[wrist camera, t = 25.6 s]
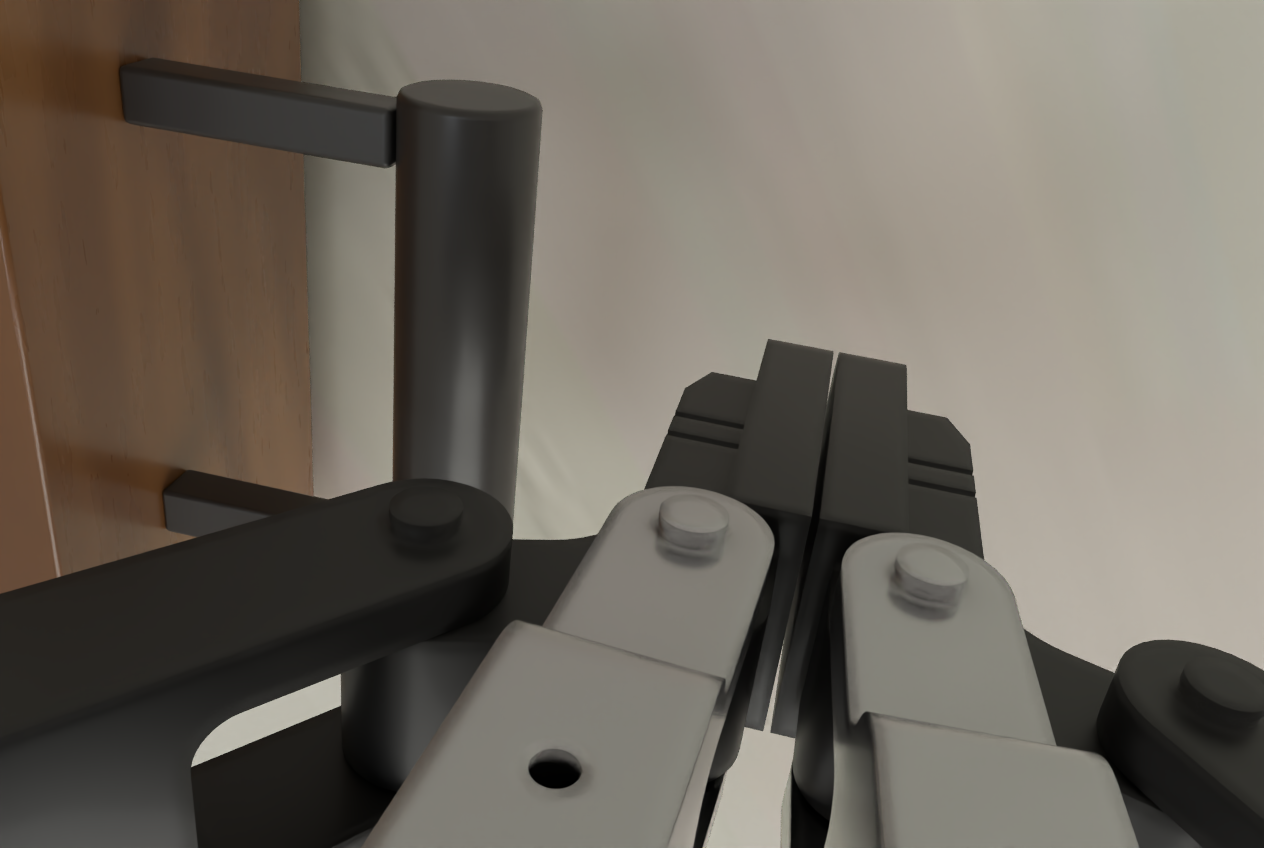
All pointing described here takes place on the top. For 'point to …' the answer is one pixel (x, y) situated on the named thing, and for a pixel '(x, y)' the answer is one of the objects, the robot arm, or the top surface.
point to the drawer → (229, 273)
